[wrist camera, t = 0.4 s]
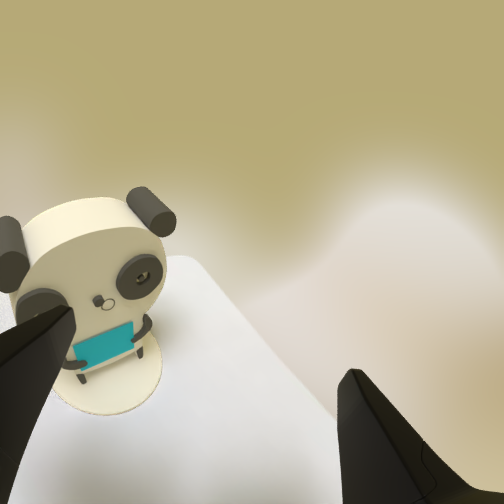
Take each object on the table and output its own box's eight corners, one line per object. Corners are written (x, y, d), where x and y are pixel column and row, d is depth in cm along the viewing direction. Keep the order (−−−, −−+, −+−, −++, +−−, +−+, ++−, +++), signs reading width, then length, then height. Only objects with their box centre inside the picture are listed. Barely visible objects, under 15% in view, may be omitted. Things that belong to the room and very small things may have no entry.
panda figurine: (70, 439, 16) (-8, 317, 7) (24, 333, 21) (-16, 189, 13) (186, 380, 24) (224, 242, 16) (124, 297, 29) (133, 162, 21)
